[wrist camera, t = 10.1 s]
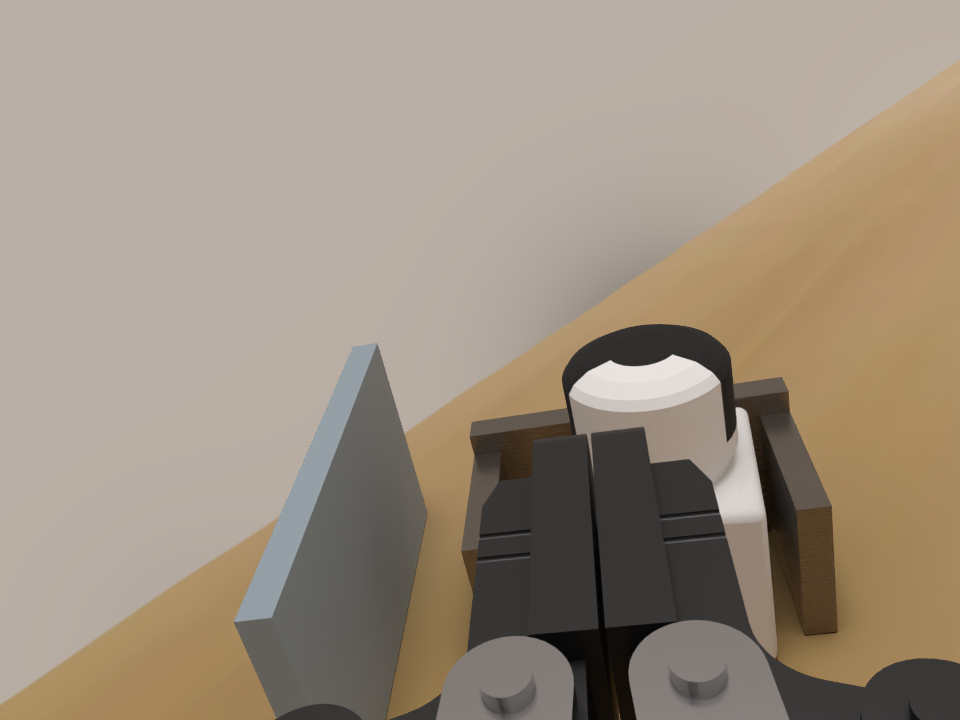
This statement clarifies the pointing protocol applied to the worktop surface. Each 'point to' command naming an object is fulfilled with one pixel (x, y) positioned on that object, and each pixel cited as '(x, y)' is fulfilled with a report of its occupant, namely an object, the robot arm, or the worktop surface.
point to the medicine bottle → (683, 432)
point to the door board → (340, 557)
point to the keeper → (782, 471)
